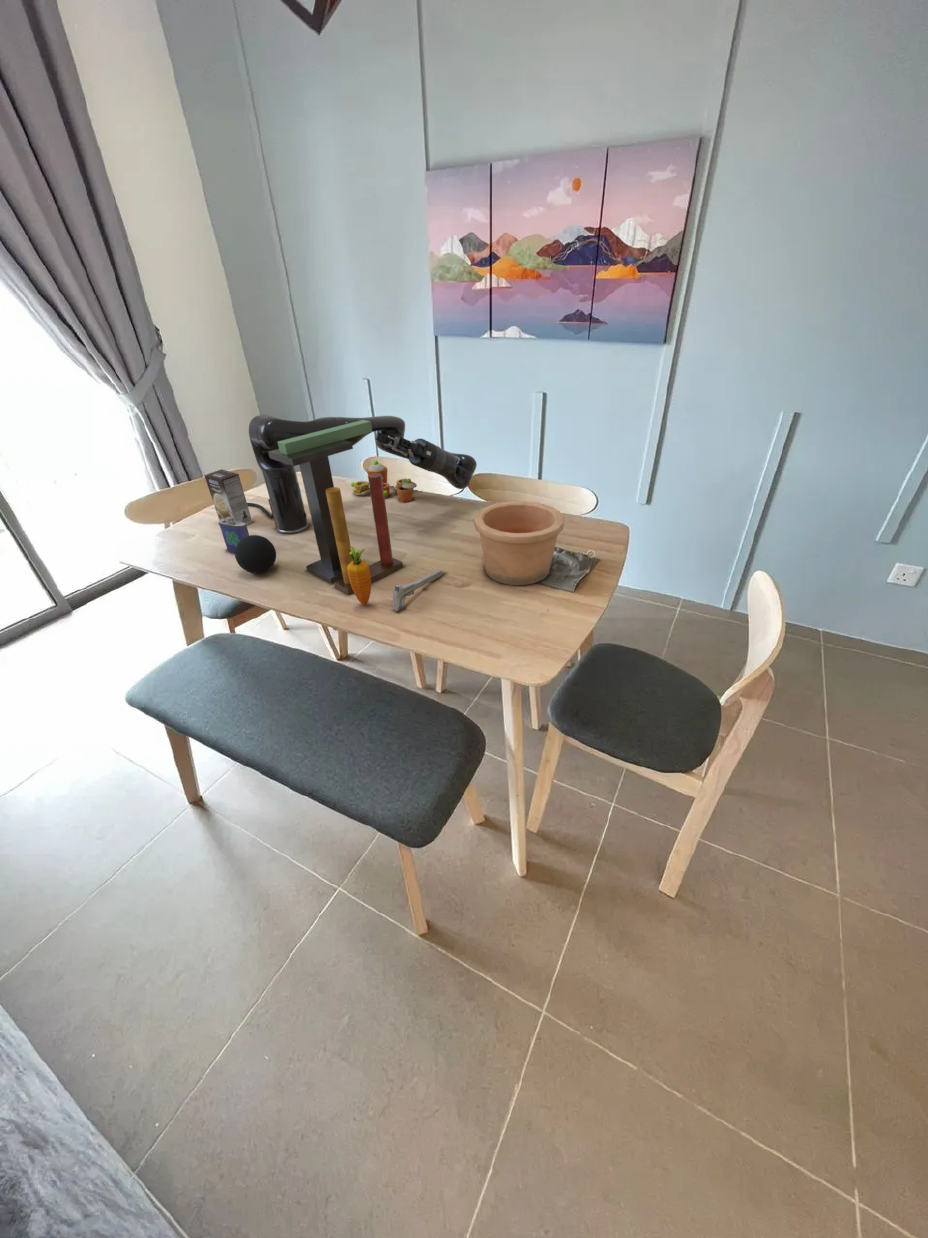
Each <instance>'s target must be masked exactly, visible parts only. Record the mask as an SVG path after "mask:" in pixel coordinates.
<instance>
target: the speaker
mask: <svg viewBox="0 0 928 1238" xmlns="http://www.w3.org/2000/svg"><path fill="white" fill-rule="evenodd" d="M276 550H277V549H276V547H275V546H274V544H273V543H272V542H271V540H269V539H268V538H267V537H265V536H263V535H258V534H249V536H247V537H245V538H243V539H242V540H240V541H239V543H238V544H237V546H236V549H235V553H234V557H235V561H236V563H237V564H238V566H239V568H241V569H242V570H244V571H246V572H247V573H250V574H262V573H265V572H267V571H269V570H270V569H272V567H274V565H275V563H276V560H277V551H276Z"/></svg>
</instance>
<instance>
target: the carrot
mask: <svg viewBox="0 0 928 1238" xmlns="http://www.w3.org/2000/svg"><path fill="white" fill-rule="evenodd" d="M350 549H351V552H350V556H351V558H352V559H353V561H352V562H351V563H350V564H349V565H348V566H347V571H348V576H349V580H350V584H351V586H352V589H353V591H354V592H353V593H354V596H355V597H356V599H357V600H358V602H359V603H360V604H361V605H362V606H364V607H366V606H367V605H368V602H369V600H370V596H371V593H372V591H371V590H372V583H371V577H370V569H369V563H367V561H366V560H363V558H362V557H361V555H362V554H363V552H365V550H366V549H365V548H362V549H360V550H359V549H355V547H354V546H351V548H350Z"/></svg>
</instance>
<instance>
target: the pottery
mask: <svg viewBox="0 0 928 1238" xmlns="http://www.w3.org/2000/svg"><path fill="white" fill-rule="evenodd" d="M473 525H474V528H475V531H476V532H477V533H478V534H479V538H480V544H481V550H482V557H483V563H484V570H485V572H486V575H487V576H488V577H490V579H492V580H493V581H496V582H498V583H500V584H504V585H510V586H526V585H527V586H528V585H531V584H536V583H538V582H540V581H542V580H544V579H546V578H547V576H549V575H550V571H551V566H552V561H553V558H554V553H555V548H556V544H557V539H558V535H559V534H560V533H561V532H562V531H563V530H564V528H565V527H564V526H565V516H564V515H563V514H562V512H561V510H559V509H557V508H555V507H553V506H551V505H548V504H544V503H541V502H536V501H535V502H534V501H526V500H514V501H512V500H511V501H510V500H509V501H504V502H497V503H494V504H491V505H487V506H485V507H483V508H481V509H480V510H478V511H477V512H476V514H475V516H474V518H473Z"/></svg>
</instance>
